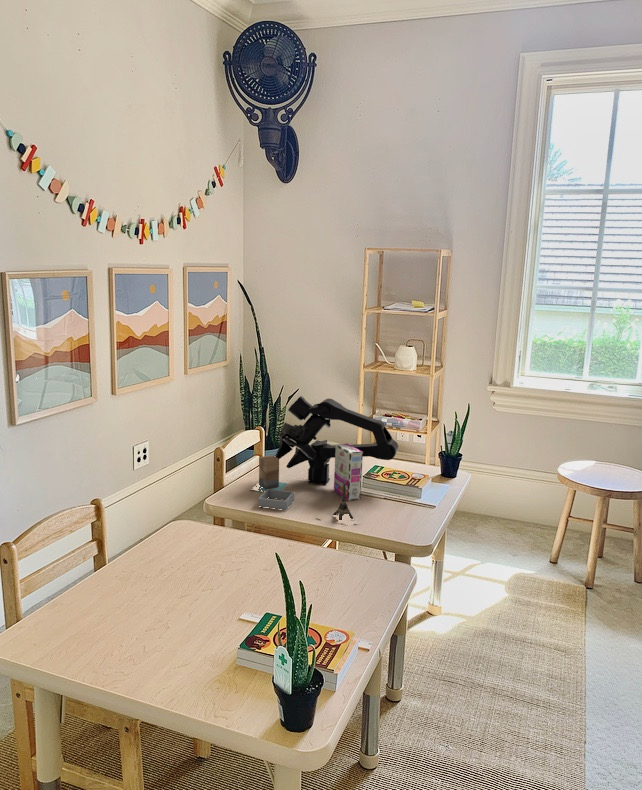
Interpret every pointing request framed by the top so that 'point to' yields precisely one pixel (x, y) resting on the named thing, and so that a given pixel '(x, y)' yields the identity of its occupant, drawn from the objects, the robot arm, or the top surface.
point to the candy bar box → (348, 471)
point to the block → (269, 472)
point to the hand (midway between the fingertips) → (281, 463)
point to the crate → (276, 503)
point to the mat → (281, 486)
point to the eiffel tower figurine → (343, 505)
